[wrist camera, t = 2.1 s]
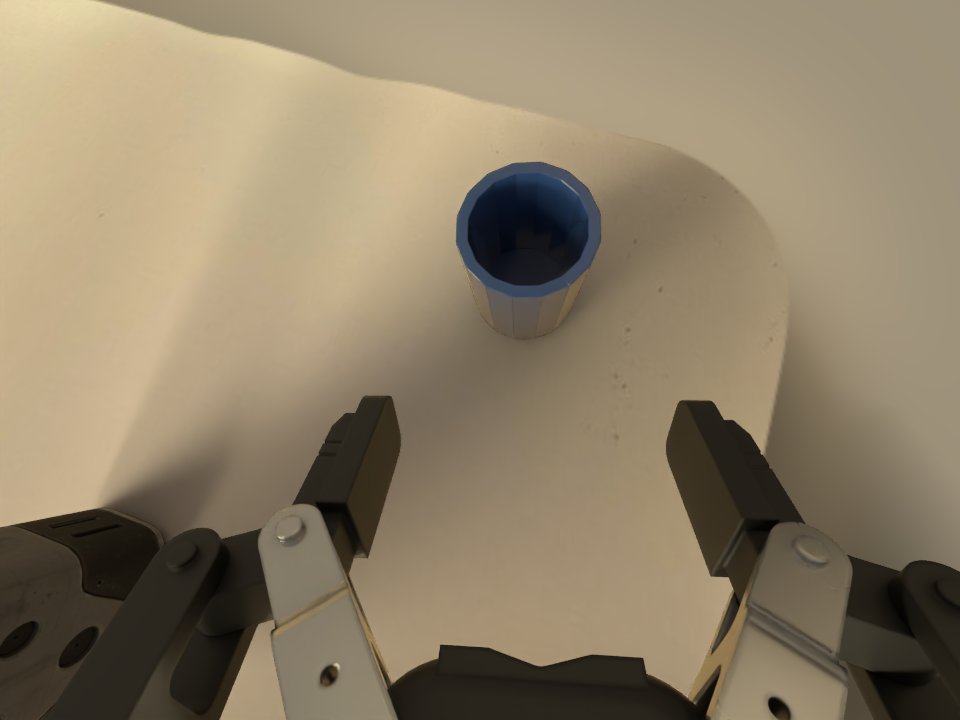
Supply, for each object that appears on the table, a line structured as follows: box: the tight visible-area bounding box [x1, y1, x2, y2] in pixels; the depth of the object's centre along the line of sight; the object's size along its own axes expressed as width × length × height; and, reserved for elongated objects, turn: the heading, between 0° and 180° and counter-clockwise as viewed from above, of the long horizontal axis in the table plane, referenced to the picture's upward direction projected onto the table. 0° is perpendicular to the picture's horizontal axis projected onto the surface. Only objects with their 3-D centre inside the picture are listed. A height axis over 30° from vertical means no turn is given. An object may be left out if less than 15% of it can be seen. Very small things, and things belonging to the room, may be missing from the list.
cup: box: [456, 162, 601, 339], centre depth 21 cm, size 6×6×8 cm
